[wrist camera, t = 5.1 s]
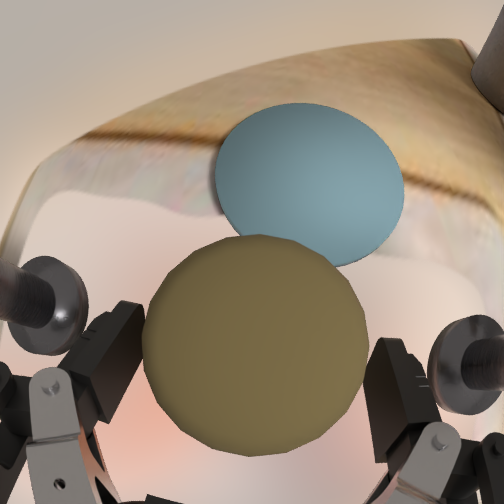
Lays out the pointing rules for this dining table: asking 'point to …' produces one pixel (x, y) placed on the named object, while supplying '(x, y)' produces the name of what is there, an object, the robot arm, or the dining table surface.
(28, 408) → the robot arm
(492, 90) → the pillar candle
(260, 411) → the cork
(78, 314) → the gap posts
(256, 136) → the teal mat
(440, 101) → the dining table surface
